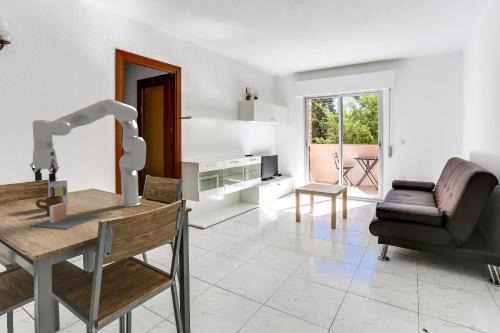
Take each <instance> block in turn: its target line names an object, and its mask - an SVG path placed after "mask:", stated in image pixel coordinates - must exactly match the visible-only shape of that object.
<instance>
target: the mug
mask: <svg viewBox="0 0 500 333" xmlns="http://www.w3.org/2000/svg"><path fill="white" fill-rule="evenodd" d="M41 203H45V204H41ZM60 203H63V197H62V196H52V197H49V196H47V197H45V199H44V198H40V199H37V200H36V201H35V205H36V207H37V208H38V209H43V210H46V215H47V216H49V217H50V207H49V206H53V205H57V204H60Z"/></svg>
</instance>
